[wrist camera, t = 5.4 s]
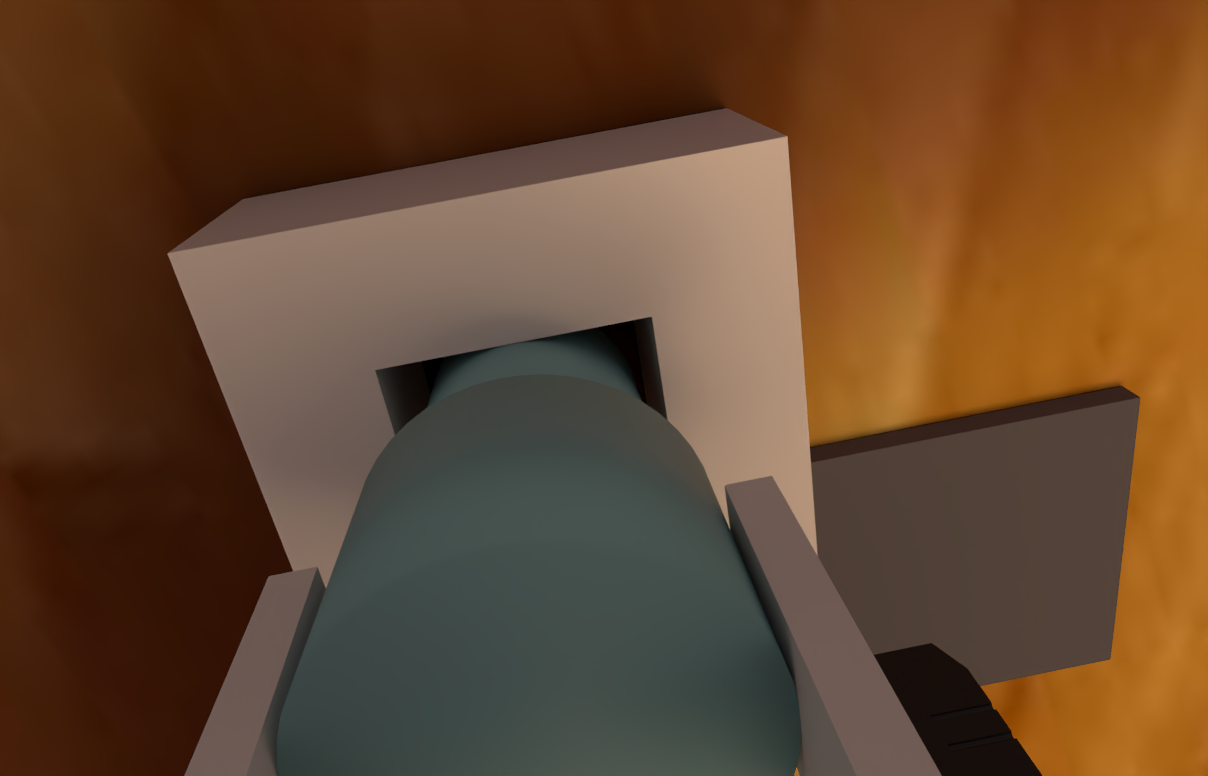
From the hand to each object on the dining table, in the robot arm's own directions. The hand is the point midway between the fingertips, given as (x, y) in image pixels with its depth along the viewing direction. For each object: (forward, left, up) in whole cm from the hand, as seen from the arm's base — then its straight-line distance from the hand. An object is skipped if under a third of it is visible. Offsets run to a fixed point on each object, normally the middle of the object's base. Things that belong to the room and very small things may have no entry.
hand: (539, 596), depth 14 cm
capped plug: (0, 0, -8) cm, 8 cm away
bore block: (0, -1, -10) cm, 10 cm away
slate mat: (+12, -10, -10) cm, 19 cm away
